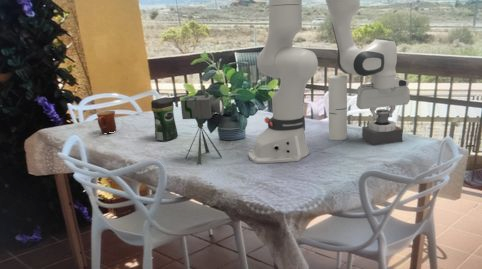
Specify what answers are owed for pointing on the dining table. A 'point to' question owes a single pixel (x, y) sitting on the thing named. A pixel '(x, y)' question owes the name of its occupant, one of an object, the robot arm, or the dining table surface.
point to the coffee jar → (164, 119)
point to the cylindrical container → (337, 107)
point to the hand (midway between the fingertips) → (382, 117)
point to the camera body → (382, 133)
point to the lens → (382, 117)
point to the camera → (201, 114)
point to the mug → (106, 121)
